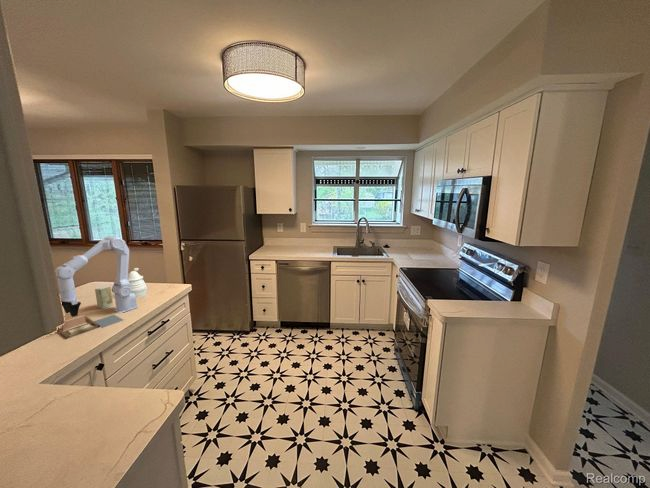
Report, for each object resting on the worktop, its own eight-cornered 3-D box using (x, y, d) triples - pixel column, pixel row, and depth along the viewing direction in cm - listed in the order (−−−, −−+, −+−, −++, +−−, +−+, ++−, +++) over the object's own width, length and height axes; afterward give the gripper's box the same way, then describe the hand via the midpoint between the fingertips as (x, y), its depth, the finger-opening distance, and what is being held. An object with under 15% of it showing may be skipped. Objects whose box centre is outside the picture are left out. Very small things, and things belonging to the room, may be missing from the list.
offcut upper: (89, 326, 137) (88, 323, 137) (92, 327, 136) (91, 325, 135) (68, 333, 131) (68, 330, 131) (71, 335, 129) (71, 332, 129)
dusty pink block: (84, 322, 142) (83, 314, 141) (86, 323, 141) (84, 315, 140) (62, 330, 134) (60, 322, 133) (63, 331, 133) (61, 323, 132)
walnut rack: (85, 318, 146) (84, 315, 146) (100, 327, 137) (99, 325, 137) (52, 328, 135) (52, 325, 135) (67, 339, 126) (66, 336, 126)
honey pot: (145, 289, 188) (142, 265, 184) (149, 294, 179) (145, 269, 175) (123, 293, 180) (119, 268, 176) (125, 299, 170) (121, 273, 167)
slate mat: (114, 315, 150) (113, 314, 150) (124, 320, 144) (124, 320, 144) (92, 322, 142) (91, 321, 142) (102, 328, 136) (101, 328, 136)
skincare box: (103, 309, 157) (100, 289, 155) (97, 308, 158) (94, 289, 156) (113, 304, 163) (110, 286, 161) (108, 303, 164) (105, 285, 162)
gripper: (51, 288, 133) (56, 313, 136) (61, 295, 126) (66, 321, 129) (69, 284, 139) (74, 308, 142) (80, 290, 132) (85, 315, 135)
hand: (71, 314), depth 136 cm, fingers open, 7 cm apart
